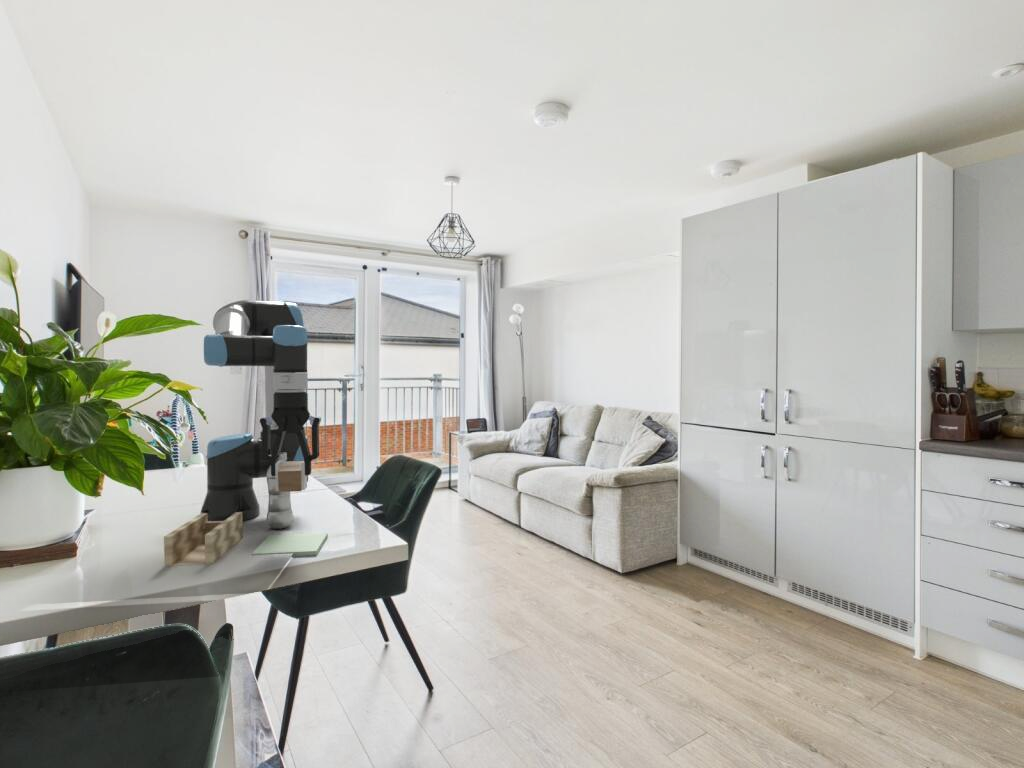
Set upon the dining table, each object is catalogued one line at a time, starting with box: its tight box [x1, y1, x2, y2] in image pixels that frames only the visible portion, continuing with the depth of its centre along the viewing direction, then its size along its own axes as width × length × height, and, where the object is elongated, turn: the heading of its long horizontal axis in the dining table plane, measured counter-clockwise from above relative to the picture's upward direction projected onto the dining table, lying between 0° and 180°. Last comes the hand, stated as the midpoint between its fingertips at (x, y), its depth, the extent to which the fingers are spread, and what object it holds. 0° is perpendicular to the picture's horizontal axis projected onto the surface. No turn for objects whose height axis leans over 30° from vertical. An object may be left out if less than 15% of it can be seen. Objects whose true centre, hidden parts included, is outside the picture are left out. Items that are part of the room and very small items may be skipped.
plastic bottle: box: [265, 452, 294, 530], centre depth 147 cm, size 6×7×20 cm
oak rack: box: [163, 512, 244, 567], centre depth 126 cm, size 19×10×7 cm, turn 9°
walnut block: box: [278, 461, 309, 493], centre depth 133 cm, size 8×5×5 cm, turn 9°
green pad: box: [251, 532, 329, 557], centre depth 131 cm, size 14×14×1 cm
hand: (291, 489), depth 131 cm, fingers closed on walnut block, 5 cm apart
